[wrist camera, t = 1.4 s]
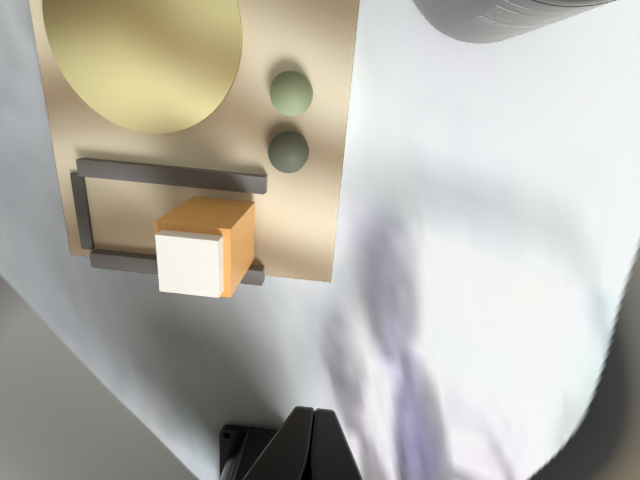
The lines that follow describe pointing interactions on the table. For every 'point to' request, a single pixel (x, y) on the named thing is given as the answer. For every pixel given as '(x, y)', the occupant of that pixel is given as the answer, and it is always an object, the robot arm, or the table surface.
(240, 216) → the orange rectangular block
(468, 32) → the supplement bottle
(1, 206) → the table surface
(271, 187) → the panel
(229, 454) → the robot arm
